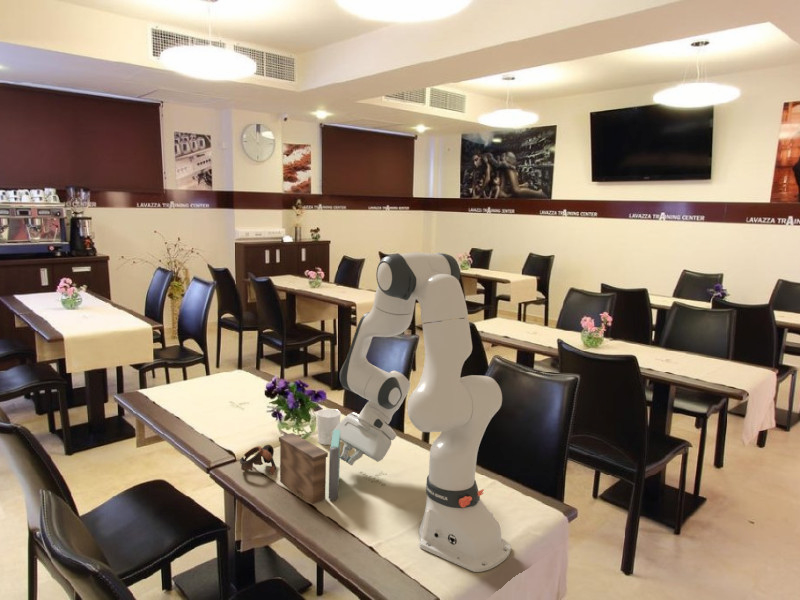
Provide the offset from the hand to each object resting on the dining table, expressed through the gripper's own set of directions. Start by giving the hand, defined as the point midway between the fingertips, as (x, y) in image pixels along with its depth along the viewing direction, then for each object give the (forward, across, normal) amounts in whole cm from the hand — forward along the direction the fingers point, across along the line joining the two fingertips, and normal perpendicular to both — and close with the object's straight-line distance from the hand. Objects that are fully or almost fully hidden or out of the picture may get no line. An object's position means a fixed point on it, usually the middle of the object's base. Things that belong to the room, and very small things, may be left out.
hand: (345, 461), depth 159 cm
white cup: (-3, -25, +12) cm, 28 cm away
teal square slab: (+7, +3, -1) cm, 8 cm away
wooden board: (+13, -2, -6) cm, 14 cm away
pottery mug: (+15, -20, -8) cm, 26 cm away
